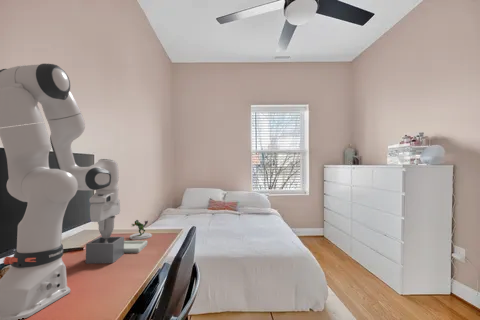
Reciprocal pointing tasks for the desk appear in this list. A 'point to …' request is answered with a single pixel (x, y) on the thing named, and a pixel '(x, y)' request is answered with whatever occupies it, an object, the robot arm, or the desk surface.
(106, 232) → the chalice
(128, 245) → the tray
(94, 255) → the box
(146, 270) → the desk surface
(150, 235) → the monster figurine
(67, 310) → the desk surface
